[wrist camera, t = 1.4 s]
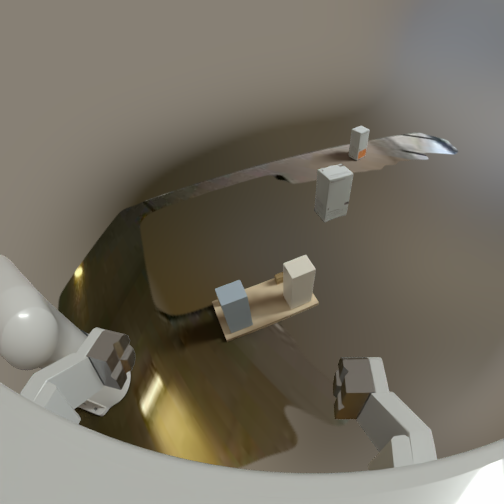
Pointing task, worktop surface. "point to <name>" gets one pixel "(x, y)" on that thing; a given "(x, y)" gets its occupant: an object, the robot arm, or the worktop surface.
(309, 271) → the ivory key
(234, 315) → the slate blue key
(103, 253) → the worktop surface
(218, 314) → the switch base
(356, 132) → the skincare box
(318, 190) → the skincare box
